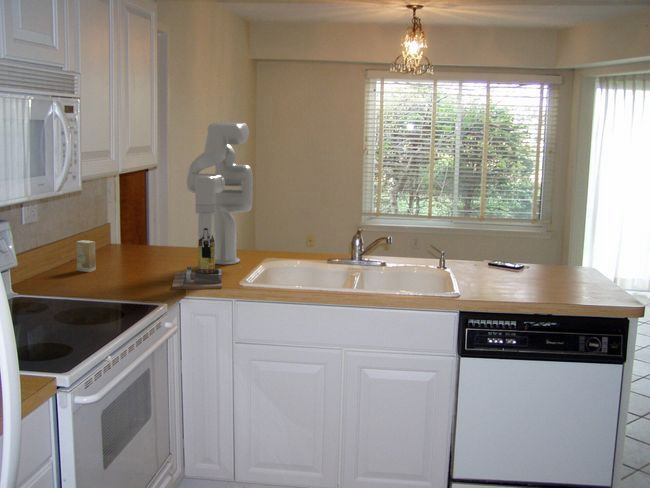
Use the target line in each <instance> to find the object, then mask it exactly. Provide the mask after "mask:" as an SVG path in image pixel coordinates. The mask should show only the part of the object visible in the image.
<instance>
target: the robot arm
mask: <svg viewBox="0 0 650 488" xmlns="http://www.w3.org/2000/svg"><path fill="white" fill-rule="evenodd" d="M249 137H250V128H249V126H248V124H247V123H245V122H232V121H231V122H226V121H221V122H220V121H217V122H212V123H209V124H208V126H207V135H206V139H205V146H204V151H203V152H202V153H200V154H199V155H198V156H197V157H196V158H194V160H192V162H191V163H190V166H189V168H188V173H187V178H186V187H187V190H188V192H190V193H194V196H195V198H194V200H195V201H194V202H195V204H194V206H195V208H194V209H195V214H198V215H197V216H198V217H197V225H198V228H197V229H198V233H197V235H198V236H197V237H198V239H199V240H200V239H202V258H210V257H211V247H210V239H211V238H212V235H213V238H214V241H215V265H222V266H223V265H235V264H238V263H240V262H241V258H240V257H238V256H237V222H236V219H235V217H234V216H233V214H232V213H248V212H250V211H251V210H252V208H253V186H254V185H253V183H254V179H253V177H254V176H253V175H254V174H253V171H252V167H251V166H250V165H248V164H239V163H238V164H236V151H235V150H234V148H233V146H234V145H235V146H236V145H237V146H238V145H240V146H241V145H244V144H245V143H247V141H248V140H249ZM232 145H233V146H232ZM212 166H215V167H214V168H215V169H214V172H215V173H200V172H201V171H203V170H205V169H207V168H210V167H212ZM225 187H232V188H233V187H239V188H241V189H225ZM207 229H208V233H207ZM203 238H204V239H203ZM208 238H209V239H208ZM198 239H197V240H198Z"/></svg>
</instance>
